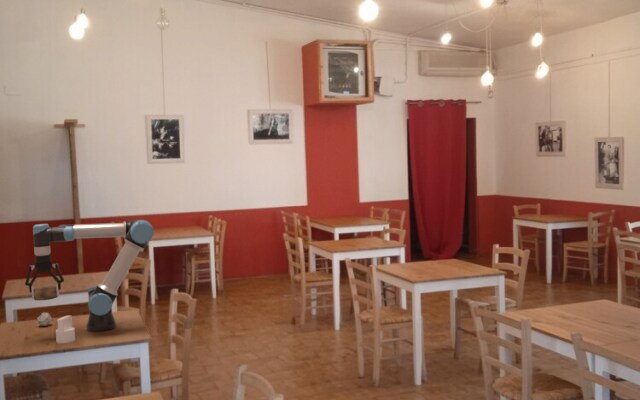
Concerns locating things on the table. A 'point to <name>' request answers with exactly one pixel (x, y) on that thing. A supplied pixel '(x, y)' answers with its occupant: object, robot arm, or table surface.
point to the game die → (44, 319)
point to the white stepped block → (65, 330)
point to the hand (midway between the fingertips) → (45, 297)
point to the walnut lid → (45, 293)
